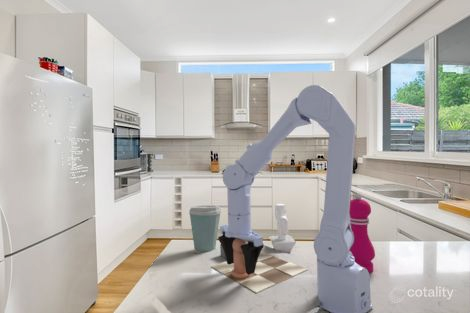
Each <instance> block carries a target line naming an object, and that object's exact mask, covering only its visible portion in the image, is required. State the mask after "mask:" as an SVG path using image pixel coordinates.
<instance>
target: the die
mask: <svg viewBox="0 0 470 313" xmlns="http://www.w3.org/2000/svg"><path fill="white" fill-rule="evenodd" d="M219 244H220V245H219V246H220V247H219V248H220V250H219V251H220V252H219V253H220V256H221V257H223V258H225V259H226V257H225V253H224V250H223V247H222V245H221V243H219Z"/></svg>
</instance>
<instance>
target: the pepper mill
mask: <svg viewBox="0 0 470 313" xmlns="http://www.w3.org/2000/svg"><path fill="white" fill-rule="evenodd" d="M353 197H354V198H353V199H350V211H349V214H350V219H351V220H350V227H351V230H352V232H353V235H354V242H353V245H352V246H351V247H350V250H349V251H351V253H352V255H353V257H354V258H355V262H356V263H357V264H358V265H360V266H361V267H364V268H365V269H367V270H368V272H369V274H370V273H372V272H374V262H372V261H373V260H374V259H375V257H376V252H375V247H374V245H373V243H372V241H371V239H370V237H369V234H368V233H369V232H368V225H369V224H370V221H369V220H370V217H369V216H370V215H371V213H372V207H371V205H370V203H369V202H368V201H367V200H365V199H362V197H363V196H362V194H361V193H355V194H354V196H353Z"/></svg>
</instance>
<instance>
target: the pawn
mask: <svg viewBox="0 0 470 313" xmlns="http://www.w3.org/2000/svg"><path fill="white" fill-rule="evenodd" d="M244 244H247V242H246V241H243V240H241V239H240V238H236V239H235V240H234V241H233V245H232V246H233V249H234V251H233V255H234V269H233V270H232V277H233V278H236V279H245V278H248V277H249V276H250V274H249V275H248V274H246V269H245V259H244V255H243V252H242V249H241V245H244Z"/></svg>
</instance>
